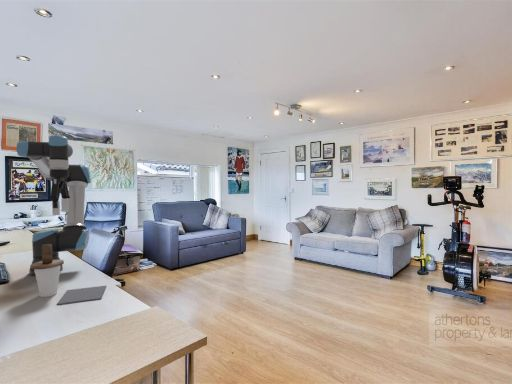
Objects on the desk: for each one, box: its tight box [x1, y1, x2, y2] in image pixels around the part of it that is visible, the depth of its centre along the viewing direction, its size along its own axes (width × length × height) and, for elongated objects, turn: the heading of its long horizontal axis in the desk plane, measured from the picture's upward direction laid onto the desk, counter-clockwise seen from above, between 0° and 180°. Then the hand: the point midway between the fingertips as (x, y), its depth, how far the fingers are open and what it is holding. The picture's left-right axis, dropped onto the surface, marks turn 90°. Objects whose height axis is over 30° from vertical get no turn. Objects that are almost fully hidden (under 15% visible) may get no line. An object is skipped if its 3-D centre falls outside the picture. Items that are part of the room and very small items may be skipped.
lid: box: [29, 244, 65, 269], centre depth 127 cm, size 12×12×9 cm
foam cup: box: [34, 266, 61, 298], centre depth 127 cm, size 10×9×13 cm
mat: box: [56, 285, 107, 306], centre depth 126 cm, size 16×16×1 cm
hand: (60, 213), depth 138 cm, fingers open, 13 cm apart
